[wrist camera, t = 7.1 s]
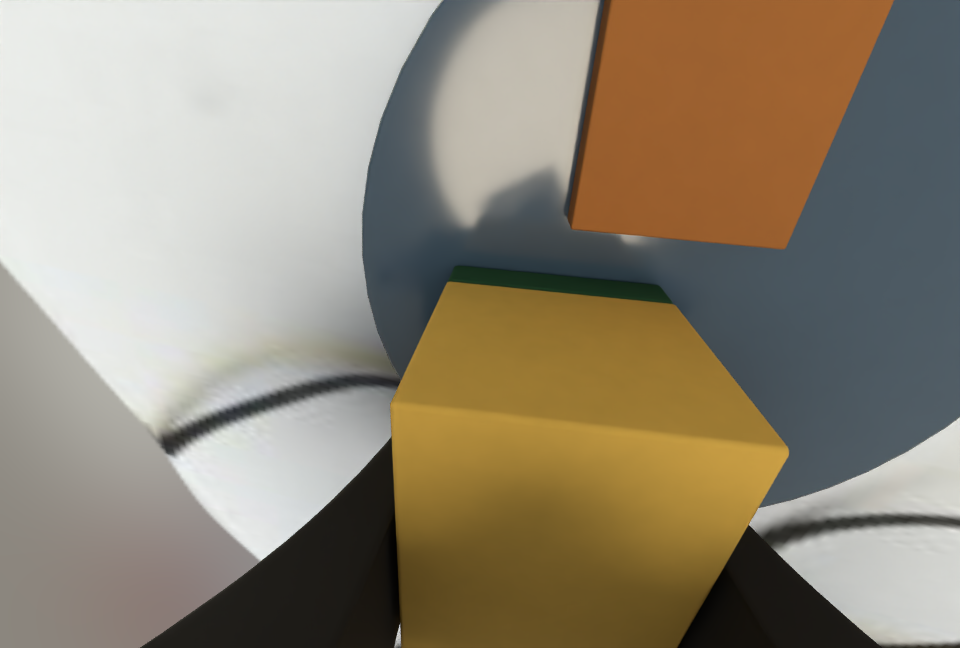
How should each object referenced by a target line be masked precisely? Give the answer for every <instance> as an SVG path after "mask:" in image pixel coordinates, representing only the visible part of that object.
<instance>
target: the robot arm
mask: <svg viewBox="0 0 960 648" xmlns="http://www.w3.org/2000/svg"><path fill="white" fill-rule="evenodd" d="M399 625H400V606H399V585H398V563H397V542H396V520H395V499H394V477H393V456H392V437H391V438H390V439H389V440H388V442H387V443H386V444H385V445H384V446H383V447H382V448H381V450H380V451H379V452H378V453H377V454H376V455H375V456H374V457H373V458H372V460H371V461H370V462H369V463H368V464H367V465H366V466H365V467H364V468H363V469H362V470H361V472H360V473H359V474H358V475H357V476H356V477H355V478H354V479H353V480H352V481H351V482H350V483H349V484H348V485H347V486H346V487H345V488H344V489H343V490H342V491H341V492H340V493H339V494H338V495H337V496H336V497H335V498H334V499H333V500H332V501H331V502H329V503H328V504H327V505H326V506H325V507H324V508H323V509H322V510H321V511H320V512H319V513H318V514H317V515H315V516H314V517H313V518H312V519H311V520H310V521H309V522H308V523H306V524H305V525H304V526H303V527H302V528H301V529H300V530H298V531H297V532H296V533H295V534H294V535H293V536H291V537H290V538H289V539H288V540H287V541H286V542H284V543H283V544H282V545H281V546H279V547H278V548H277V549H276V550H274V551H273V552H272V553H271V554H269V555H268V556H267V557H266V558H264V559H263V560H262V561H261V562H259V563H258V564H257V565H256V566H255V567H253V568H252V569H251V570H249V571H248V572H247V573H245V574H244V575H243V576H242V577H240V578H239V579H238V580H237V581H235V582H234V583H232V584H231V585H229V586H228V587H227V588H225V589H224V590H223V591H221V592H220V593H218V594H217V595H216V596H214V597H213V598H212V599H210V600H208V601H207V602H206V603H204V604H203V605H201V606H200V607H199V608H197V609H196V610H195V611H193V612H191V613H190V614H189V615H187V616H186V617H184V618H183V619H181V620H180V621H179V622H177V623H176V624H174V625H173V626H171V627H170V628H169V629H167V630H166V631H164V632H163V633H162V634H160V635H158V636H157V637H155V638H154V639H153V640H151V641H149V642H148V643H147V644H145V645H143V646H142V647H140V648H394V645H395V641H396V636H397V632H398V628H399ZM677 648H882V647H881V646H879V645H878V644H877V643H876V642H875V641H873V640H872V639H871V638H870V637H869V636H868V635H866V634H865V633H864V632H863V631H862V630H860V629H859V628H858V627H857V626H856V625H855V624H854V623H852V622H851V621H850V620H849V619H848V618H847V617H846V616H845V615H843V614H842V613H841V612H840V611H839V610H838V609H837V608H835V607H834V606H833V605H832V604H831V603H830V602H829V601H828V600H826V599H825V598H824V597H823V596H822V595H821V594H820V593H819V592H817V591H816V590H815V589H814V588H813V587H812V586H811V585H810V584H809V583H808V582H807V581H805V580H804V579H803V578H802V577H801V576H800V575H799V574H798V573H797V572H796V571H795V570H794V569H793V568H792V567H791V566H790V565H789V564H788V563H787V562H786V561H784V560H783V559H782V558H781V557H780V556H779V555H778V554H777V553H776V552H775V551H774V550H773V549H772V548H771V547H770V546H769V545H768V544H767V543H766V542H765V541H764V540H763V539H762V538H761V537H760V536H759V535H758V534H757V533H756V532H755V531H754V530H753V529H752V528H751V527H750V526H749V525H748V527H747V528H746V530H745V532H744V533H743V535H742V537H741V539H740V540H739V542H738V544H737V546H736V547H735V549H734V551H733V552H732V554H731V556H730V558H729V559H728V561H727V563H726V564H725V566H724V568H723V570H722V571H721V573H720V575H719V577H718V578H717V580H716V582H715V583H714V585H713V587H712V589H711V590H710V592H709V594H708V596H707V597H706V599H705V601H704V602H703V604H702V606H701V608H700V609H699V611H698V613H697V614H696V616H695V618H694V620H693V621H692V623H691V625H690V627H689V628H688V630H687V632H686V633H685V635H684V637H683V639H682V640H681V642H680V644H679V645H678V647H677Z"/></svg>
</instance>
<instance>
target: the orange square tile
mask: <svg viewBox="0 0 960 648" xmlns="http://www.w3.org/2000/svg"><path fill="white" fill-rule="evenodd" d="M893 2H894V0H605V1H604V7H603V13H602V19H601V25H600V31H599V36H598V42H597V48H596V54H595V60H594V66H593V72H592V78H591V83H590V89H589V95H588V101H587V107H586V113H585V119H584V124H583V130H582V136H581V142H580V148H579V154H578V160H577V165H576V171H575V177H574V183H573V189H572V195H571V201H570V206H569V212H568V218H567V219H568V222H569V224H570V227H571V229H573V230H582V231H592V232H603V233H613V234H624V235H634V236H645V237H655V238H666V239H677V240H687V241H698V242H708V243H719V244H729V245H740V246H750V247H761V248H771V249H785V248H786V247H787V244H788V242H789V240H790V237H791V235H792V233H793V231H794V228H795V226H796V224H797V221H798V219H799V217H800V215H801V212H802V210H803V208H804V205H805V203H806V201H807V199H808V196H809V194H810V192H811V189H812V187H813V185H814V183H815V180H816V178H817V176H818V173H819V171H820V169H821V166H822V164H823V162H824V160H825V157H826V155H827V153H828V150H829V148H830V146H831V144H832V141H833V139H834V137H835V134H836V132H837V130H838V128H839V125H840V123H841V121H842V118H843V116H844V114H845V112H846V109H847V107H848V105H849V102H850V100H851V98H852V96H853V93H854V91H855V89H856V86H857V84H858V82H859V80H860V77H861V75H862V73H863V70H864V68H865V66H866V64H867V61H868V59H869V57H870V54H871V52H872V50H873V48H874V45H875V43H876V41H877V38H878V36H879V34H880V32H881V29H882V27H883V25H884V22H885V20H886V18H887V15H888V13H889V11H890V9H891V6H892V4H893Z"/></svg>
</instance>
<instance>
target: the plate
mask: <svg viewBox="0 0 960 648" xmlns="http://www.w3.org/2000/svg"><path fill="white" fill-rule="evenodd" d="M604 1H605V0H442V2H441V3H440V4H439V6H438V7H437V8H436V10H435V11H434V12H433V14H432V15H431V17H430V18H429V20H428V22H427V24H426V26H425V27H424V29H423V31H422V33H421V34H420V36H419V38H418V40H417V42H416V43H415V45H414V47H413V49H412V50H411V52H410V54H409V56H408V58H407V59H406V61H405V63H404V65H403V66H402V68H401V71H400V73H399V76H398V78H397V81H396V83H395V86H394V88H393V90H392V93H391V95H390V98H389V100H388V103H387V105H386V108H385V110H384V113H383V115H382V118H381V121H380V124H379V128H378V132H377V136H376V140H375V143H374V147H373V151H372V155H371V159H370V162H369V166H368V173H367V180H366V188H365V196H364V204H363V211H362V257H363V264H364V271H365V279H366V286H367V294H368V298H369V302H370V306H371V309H372V313H373V317H374V320H375V324H376V328H377V331H378V334H379V336H380V338H381V341H382V343H383V346H384V348H385V350H386V353H387V355H388V358H389V360H390V362H391V364H392V366H393V368H394V369H395V371H396V373H397V375H398V376H399V378H400V380H402V378H403V376H404V373H405V371H406V369H407V367H408V365H409V363H410V361H411V358H412V356H413V354H414V352H415V350H416V348H417V346H418V343H419V341H420V339H421V337H422V335H423V333H424V331H425V329H426V326H427V324H428V322H429V320H430V318H431V316H432V314H433V311H434V309H435V307H436V305H437V303H438V301H439V299H440V296H441V294H442V292H443V290H444V288H445V286H446V284H447V282H448V280H449V278H450V275H451V273H452V271H453V269H454V267H455V266H468V267H478V268H488V269H498V270H508V271H518V272H529V273H539V274H549V275H559V276H569V277H580V278H590V279H600V280H610V281H620V282H631V283H641V284H651V285H658V286H660V287H661V288H662V289H663V290H664V292H665V293H666V294H667V295H668V297H669V298H670V299H671V301H672V302H673V304H674V305H676V306H677V308H678V309H679V310H680V312H681V313H682V314H683V315H684V317H685V318H686V319H687V320H688V322H689V323H690V324H691V325H692V327H693V328H694V329H695V331H696V332H697V333H698V334H699V336H700V337H701V338H702V339H703V341H704V342H705V343H706V344H707V346H708V347H709V348H710V349H711V351H712V352H713V353H714V355H715V356H716V357H717V358H718V360H719V361H720V362H721V363H722V365H723V366H724V367H725V368H726V370H727V371H728V372H729V373H730V375H731V376H732V377H733V379H734V380H735V381H736V382H737V384H738V385H739V386H740V387H741V389H742V390H743V391H744V392H745V394H746V395H747V396H748V398H749V399H750V400H751V401H752V403H753V404H754V405H755V406H756V408H757V409H758V410H759V411H760V413H761V414H762V415H763V416H764V418H765V419H766V420H767V422H768V423H769V424H770V425H771V427H772V428H773V429H774V430H775V432H776V433H777V434H778V435H779V437H780V438H781V439H782V440H783V442H784V443H785V444H786V446H787V447H788V449H789V456H788V458H787V459H786V461H785V463H784V464H783V466H782V468H781V470H780V471H779V473H778V475H777V477H776V478H775V480H774V482H773V483H772V485H771V487H770V489H769V490H768V492H767V494H766V496H765V497H764V499H763V501H762V502H761V504H760V506H759V508H761V507H765V506H769V505H774V504H778V503H782V502H786V501H790V500H794V499H797V498H800V497H803V496H806V495H809V494H812V493H815V492H818V491H821V490H824V489H827V488H830V487H833V486H835V485H837V484H840V483H842V482H845V481H847V480H849V479H852V478H854V477H857V476H859V475H861V474H864V473H866V472H869V471H871V470H872V469H874V468H876V467H878V466H880V465H882V464H884V463H886V462H888V461H890V460H892V459H894V458H896V457H898V456H900V455H902V454H904V453H906V452H908V451H909V450H911V449H912V448H914V447H916V446H917V445H919V444H920V443H922V442H924V441H925V440H927V439H928V438H930V437H932V436H933V435H935V434H937V433H938V432H940V431H941V430H943V429H945V428H946V427H948V426H949V425H950V424H952V423H953V422H954V421H956V420H957V419H958V418H960V0H894V2H893V4H892V6H891V9H890V11H889V13H888V15H887V18H886V20H885V22H884V25H883V27H882V29H881V32H880V34H879V36H878V38H877V41H876V43H875V45H874V48H873V50H872V52H871V54H870V57H869V59H868V61H867V64H866V66H865V68H864V70H863V73H862V75H861V77H860V80H859V82H858V84H857V86H856V89H855V91H854V93H853V96H852V98H851V100H850V102H849V105H848V107H847V109H846V112H845V114H844V116H843V118H842V121H841V123H840V125H839V128H838V130H837V132H836V134H835V137H834V139H833V141H832V144H831V146H830V148H829V150H828V153H827V155H826V157H825V160H824V162H823V164H822V166H821V169H820V171H819V173H818V176H817V178H816V180H815V183H814V185H813V187H812V189H811V192H810V194H809V196H808V199H807V201H806V203H805V205H804V208H803V210H802V212H801V215H800V217H799V219H798V221H797V224H796V226H795V228H794V231H793V233H792V235H791V237H790V240H789V242H788V244H787V247H786V248H785V249H771V248H761V247H750V246H740V245H729V244H719V243H708V242H698V241H687V240H677V239H666V238H655V237H645V236H634V235H624V234H613V233H603V232H592V231H582V230H573V229H571V227H570V224H569V222H568V219H567V218H568V212H569V206H570V201H571V195H572V189H573V183H574V177H575V171H576V165H577V160H578V154H579V148H580V142H581V136H582V130H583V124H584V119H585V113H586V107H587V101H588V95H589V89H590V83H591V78H592V72H593V66H594V60H595V54H596V48H597V42H598V36H599V31H600V25H601V19H602V13H603V7H604Z"/></svg>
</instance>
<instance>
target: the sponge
mask: <svg viewBox="0 0 960 648" xmlns="http://www.w3.org/2000/svg"><path fill="white" fill-rule="evenodd" d="M390 413H391V434H392V456H393V477H394V499H395V520H396V542H397V563H398V585H399V606H400V628H401V648H677V647H678V645H679V644H680V642H681V640H682V639H683V637H684V635H685V633H686V632H687V630H688V628H689V627H690V625H691V623H692V621H693V620H694V618H695V616H696V614H697V613H698V611H699V609H700V608H701V606H702V604H703V602H704V601H705V599H706V597H707V596H708V594H709V592H710V590H711V589H712V587H713V585H714V583H715V582H716V580H717V578H718V577H719V575H720V573H721V571H722V570H723V568H724V566H725V564H726V563H727V561H728V559H729V558H730V556H731V554H732V552H733V551H734V549H735V547H736V546H737V544H738V542H739V540H740V539H741V537H742V535H743V533H744V532H745V530H746V528H747V527H748V525H749V523H750V521H751V520H752V518H753V516H754V514H755V513H756V511H757V509H758V508H759V506H760V504H761V502H762V501H763V499H764V497H765V496H766V494H767V492H768V490H769V489H770V487H771V485H772V483H773V482H774V480H775V478H776V477H777V475H778V473H779V471H780V470H781V468H782V466H783V464H784V463H785V461H786V459H787V458H788V456H789V449H788V447H787V446H786V444H785V443H784V442H783V440H782V439H781V438H780V437H779V435H778V434H777V433H776V432H775V430H774V429H773V428H772V427H771V425H770V424H769V423H768V422H767V420H766V419H765V418H764V416H763V415H762V414H761V413H760V411H759V410H758V409H757V408H756V406H755V405H754V404H753V403H752V401H751V400H750V399H749V398H748V396H747V395H746V394H745V392H744V391H743V390H742V389H741V387H740V386H739V385H738V384H737V382H736V381H735V380H734V379H733V377H732V376H731V375H730V373H729V372H728V371H727V370H726V368H725V367H724V366H723V365H722V363H721V362H720V361H719V360H718V358H717V357H716V356H715V355H714V353H713V352H712V351H711V349H710V348H709V347H708V346H707V344H706V343H705V342H704V341H703V339H702V338H701V337H700V336H699V334H698V333H697V332H696V331H695V329H694V328H693V327H692V325H691V324H690V323H689V322H688V320H687V319H686V318H685V317H684V315H683V314H682V313H681V312H680V310H679V309H678V308H677V306H676V305H674V304H673V302H672V301H671V299H670V298H669V297H668V295H667V294H666V293H665V292H664V290H663V289H662V288H661V287H660V286H658V285H651V284H641V283H631V282H620V281H610V280H600V279H590V278H580V277H569V276H559V275H549V274H539V273H529V272H518V271H508V270H498V269H488V268H478V267H468V266H455V267H454V269H453V271H452V273H451V275H450V278H449V280H448V282H447V284H446V286H445V288H444V290H443V292H442V294H441V296H440V299H439V301H438V303H437V305H436V307H435V309H434V311H433V314H432V316H431V318H430V320H429V322H428V324H427V326H426V329H425V331H424V333H423V335H422V337H421V339H420V341H419V343H418V346H417V348H416V350H415V352H414V354H413V356H412V358H411V361H410V363H409V365H408V367H407V369H406V371H405V373H404V376H403V378H402V380H401V382H400V384H399V386H398V388H397V391H396V393H395V395H394V397H393V399H392V401H391V403H390Z"/></svg>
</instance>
